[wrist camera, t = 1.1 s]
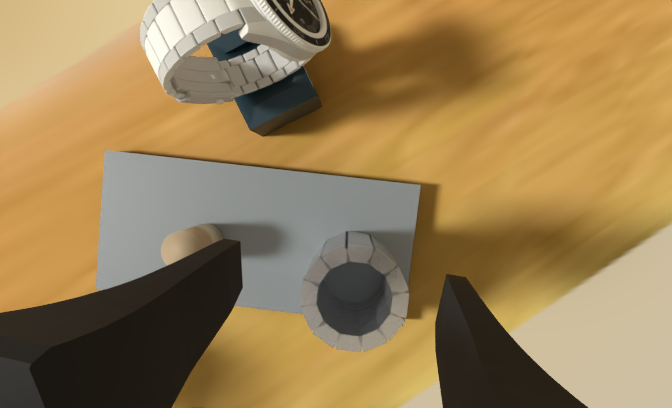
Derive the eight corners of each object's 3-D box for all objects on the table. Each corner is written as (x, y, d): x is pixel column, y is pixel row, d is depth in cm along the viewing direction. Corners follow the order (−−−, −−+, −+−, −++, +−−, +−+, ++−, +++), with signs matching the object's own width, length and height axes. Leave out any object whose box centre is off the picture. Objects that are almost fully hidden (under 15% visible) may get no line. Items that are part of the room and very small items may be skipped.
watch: (349, 92, 24) (348, 17, 13) (239, 148, 24) (146, 122, 13) (310, 12, 23) (276, -135, 12) (200, 70, 24) (73, -22, 13)
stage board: (400, 319, 24) (402, 326, 23) (107, 283, 25) (95, 288, 24) (417, 184, 24) (420, 185, 23) (116, 151, 24) (104, 150, 23)
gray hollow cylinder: (390, 319, 23) (401, 357, 18) (307, 309, 23) (295, 344, 18) (400, 236, 23) (414, 253, 18) (316, 227, 23) (306, 240, 18)
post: (222, 259, 23) (199, 273, 20) (188, 255, 23) (159, 269, 20) (225, 225, 23) (202, 233, 20) (191, 221, 23) (162, 229, 20)
